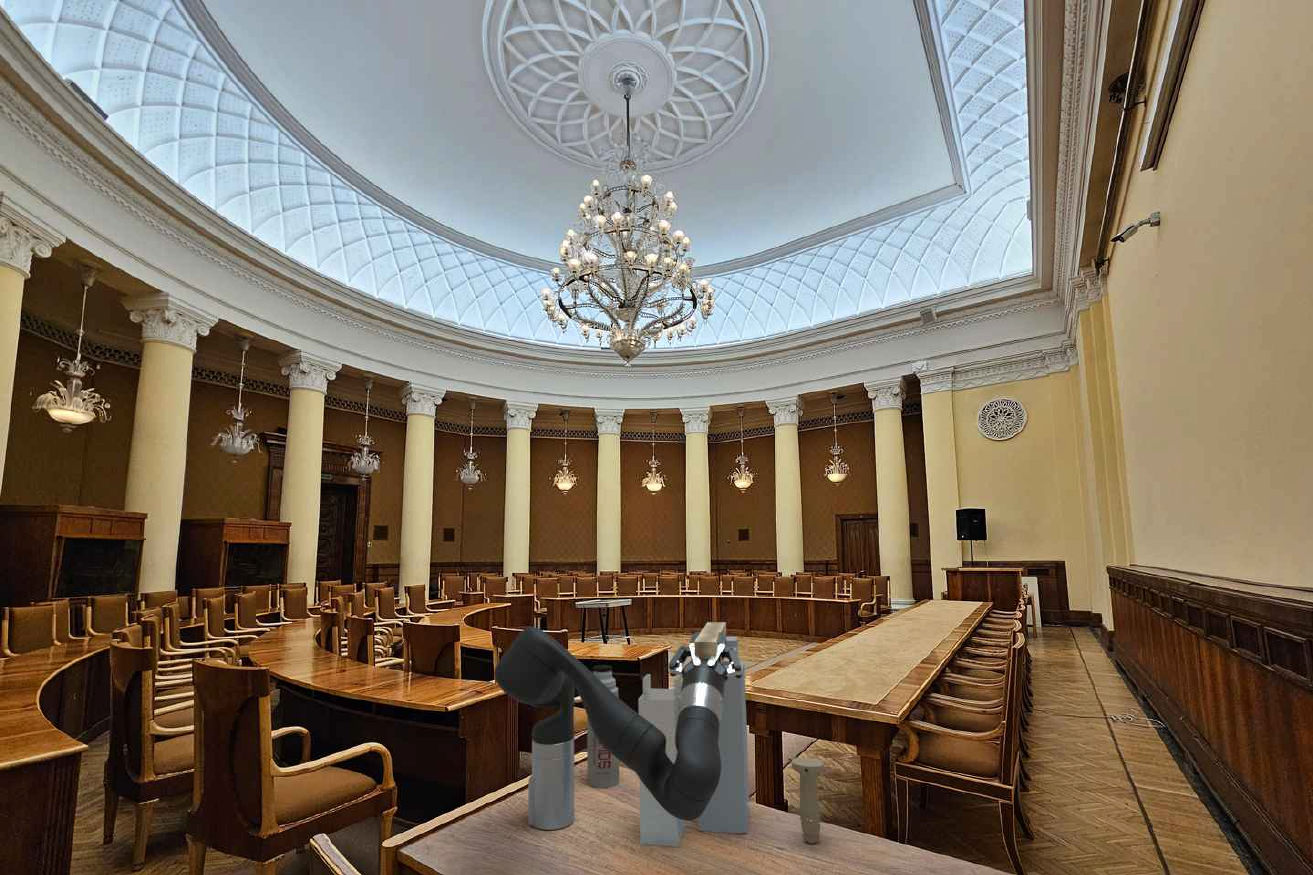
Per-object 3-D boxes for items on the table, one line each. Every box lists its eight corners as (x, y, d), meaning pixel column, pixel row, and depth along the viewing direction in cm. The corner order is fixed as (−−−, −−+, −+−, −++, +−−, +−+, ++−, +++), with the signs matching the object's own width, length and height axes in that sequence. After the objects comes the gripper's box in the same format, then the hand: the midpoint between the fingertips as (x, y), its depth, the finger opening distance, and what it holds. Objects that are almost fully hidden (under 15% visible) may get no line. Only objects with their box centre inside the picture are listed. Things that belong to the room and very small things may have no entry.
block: (694, 661, 121) (694, 641, 122) (707, 638, 143) (707, 622, 143) (716, 661, 120) (715, 642, 121) (726, 638, 142) (725, 622, 142)
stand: (698, 830, 137) (693, 645, 142) (705, 806, 149) (700, 636, 154) (746, 833, 135) (740, 646, 140) (749, 809, 147) (743, 636, 152)
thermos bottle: (615, 788, 160) (614, 669, 164) (583, 787, 161) (583, 669, 165) (622, 776, 168) (621, 663, 171) (592, 775, 169) (591, 662, 173)
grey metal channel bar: (640, 844, 132) (638, 683, 136) (649, 824, 140) (647, 674, 145) (677, 846, 130) (674, 684, 134) (684, 826, 139) (680, 674, 143)
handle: (826, 848, 128) (822, 767, 130) (793, 843, 131) (789, 764, 133) (828, 837, 133) (825, 759, 135) (797, 833, 135) (793, 756, 137)
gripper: (662, 716, 116) (675, 649, 131) (743, 719, 113) (746, 651, 129) (658, 682, 113) (671, 619, 128) (741, 685, 110) (744, 620, 126)
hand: (709, 635), depth 128 cm, fingers closed on block, 4 cm apart
